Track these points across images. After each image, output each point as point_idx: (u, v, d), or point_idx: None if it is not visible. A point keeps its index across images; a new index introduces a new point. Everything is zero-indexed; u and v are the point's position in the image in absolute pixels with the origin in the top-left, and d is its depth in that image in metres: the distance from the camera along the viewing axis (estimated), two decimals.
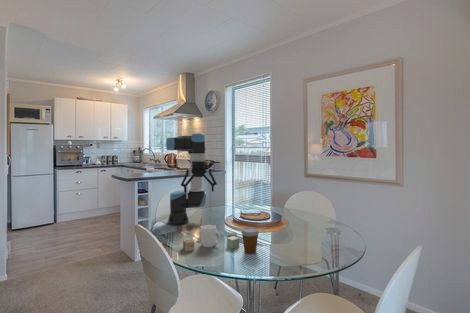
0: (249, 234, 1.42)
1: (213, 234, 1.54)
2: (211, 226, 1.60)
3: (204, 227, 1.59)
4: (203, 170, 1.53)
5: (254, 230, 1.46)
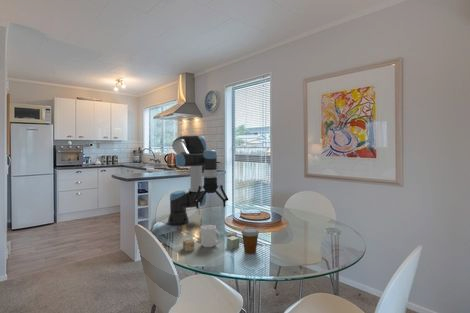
0: (249, 234, 1.42)
1: (213, 234, 1.54)
2: (211, 226, 1.60)
3: (204, 227, 1.59)
4: (215, 186, 1.55)
5: (254, 230, 1.46)
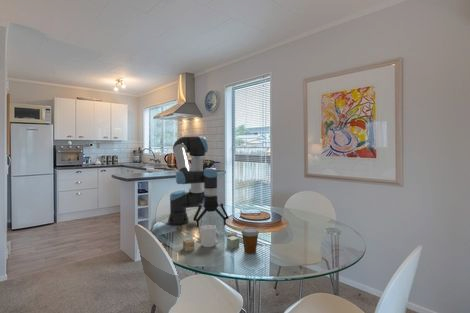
0: (249, 234, 1.42)
1: (213, 234, 1.54)
2: (211, 226, 1.60)
3: (204, 227, 1.59)
4: (215, 204, 1.54)
5: (254, 230, 1.46)
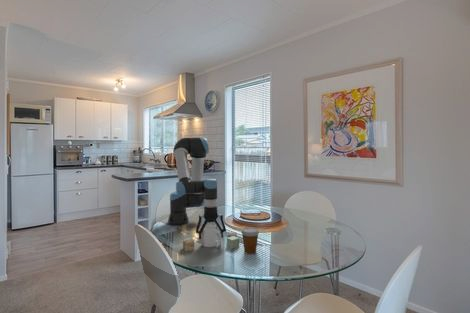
0: (249, 234, 1.42)
1: (214, 234, 1.54)
2: (212, 226, 1.60)
3: (205, 227, 1.59)
4: (215, 215, 1.55)
5: (254, 230, 1.46)
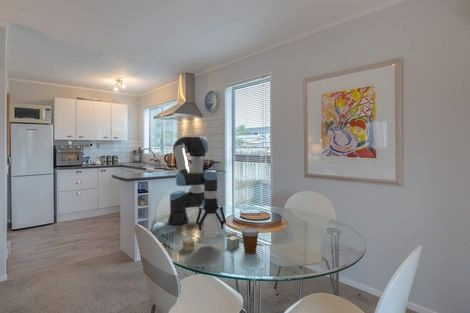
0: (249, 234, 1.42)
1: (214, 225, 1.54)
2: (212, 218, 1.60)
3: (205, 219, 1.59)
4: (215, 207, 1.55)
5: (254, 230, 1.46)
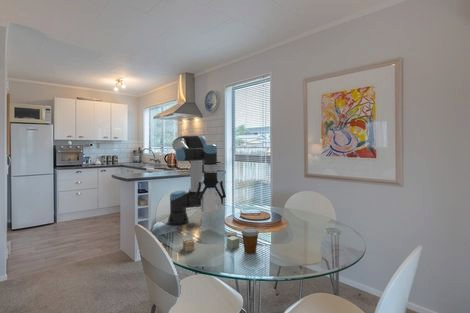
0: (249, 234, 1.42)
1: (214, 200, 1.53)
2: (212, 193, 1.59)
3: (205, 194, 1.58)
4: (215, 181, 1.54)
5: (254, 230, 1.46)
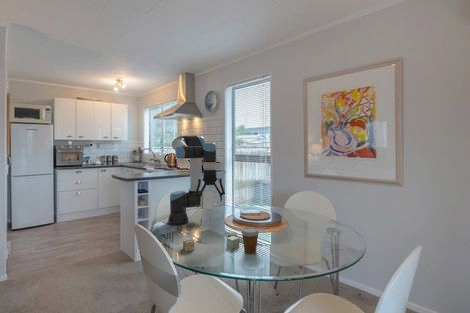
0: (249, 234, 1.42)
1: (213, 196, 1.57)
2: (211, 190, 1.63)
3: (204, 191, 1.62)
4: (214, 178, 1.58)
5: (254, 230, 1.46)
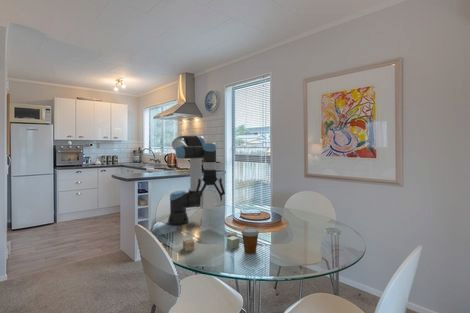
0: (249, 234, 1.42)
1: (213, 196, 1.57)
2: (211, 190, 1.63)
3: (204, 191, 1.62)
4: (214, 178, 1.58)
5: (254, 230, 1.46)
